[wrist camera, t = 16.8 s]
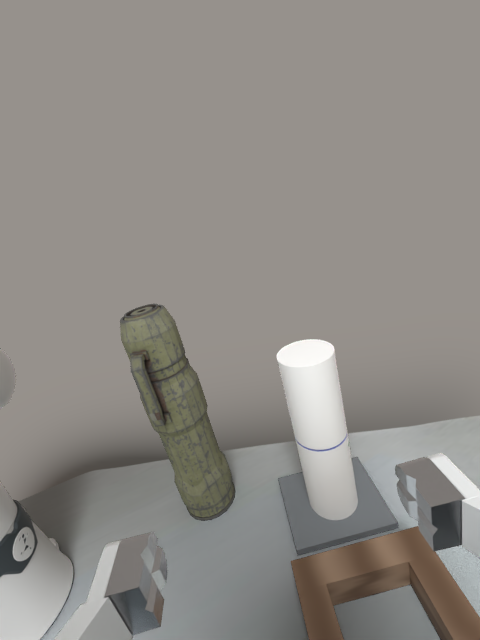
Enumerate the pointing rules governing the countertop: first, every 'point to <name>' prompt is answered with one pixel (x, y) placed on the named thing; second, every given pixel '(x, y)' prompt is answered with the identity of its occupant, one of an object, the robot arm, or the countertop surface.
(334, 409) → the cylindrical container
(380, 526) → the rubber mat
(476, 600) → the countertop surface
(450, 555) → the countertop surface
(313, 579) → the pocket block
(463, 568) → the countertop surface
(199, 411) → the thermos
